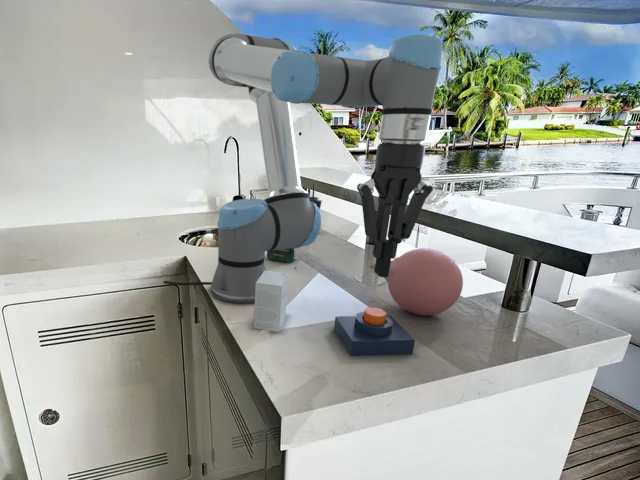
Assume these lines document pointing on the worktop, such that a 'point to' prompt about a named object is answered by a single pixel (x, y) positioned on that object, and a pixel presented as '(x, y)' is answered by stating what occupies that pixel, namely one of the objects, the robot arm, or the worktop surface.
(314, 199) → the drinking cup
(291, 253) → the coffee jar
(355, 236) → the worktop surface
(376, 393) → the worktop surface
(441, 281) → the balloon
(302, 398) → the worktop surface
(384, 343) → the push button
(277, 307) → the small box
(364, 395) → the worktop surface
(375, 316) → the orange button cap
